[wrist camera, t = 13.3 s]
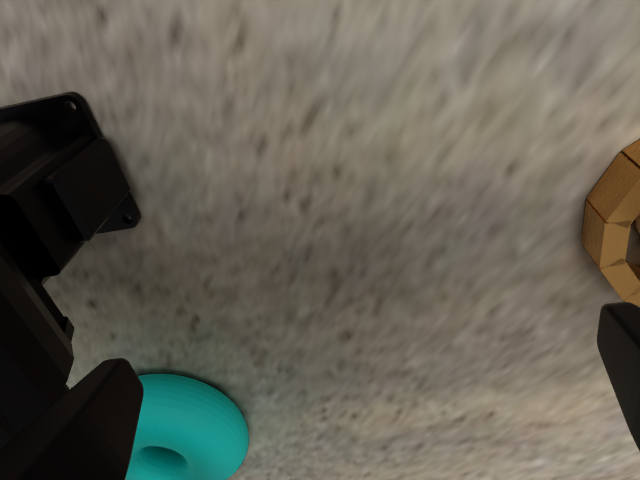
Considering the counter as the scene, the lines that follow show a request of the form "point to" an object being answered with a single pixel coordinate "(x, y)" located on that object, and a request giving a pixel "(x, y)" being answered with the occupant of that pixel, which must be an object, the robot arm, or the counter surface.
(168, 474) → the donuts
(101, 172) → the robot arm
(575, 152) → the counter surface
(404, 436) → the counter surface
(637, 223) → the sprinkles bottle
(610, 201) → the coupling jig
